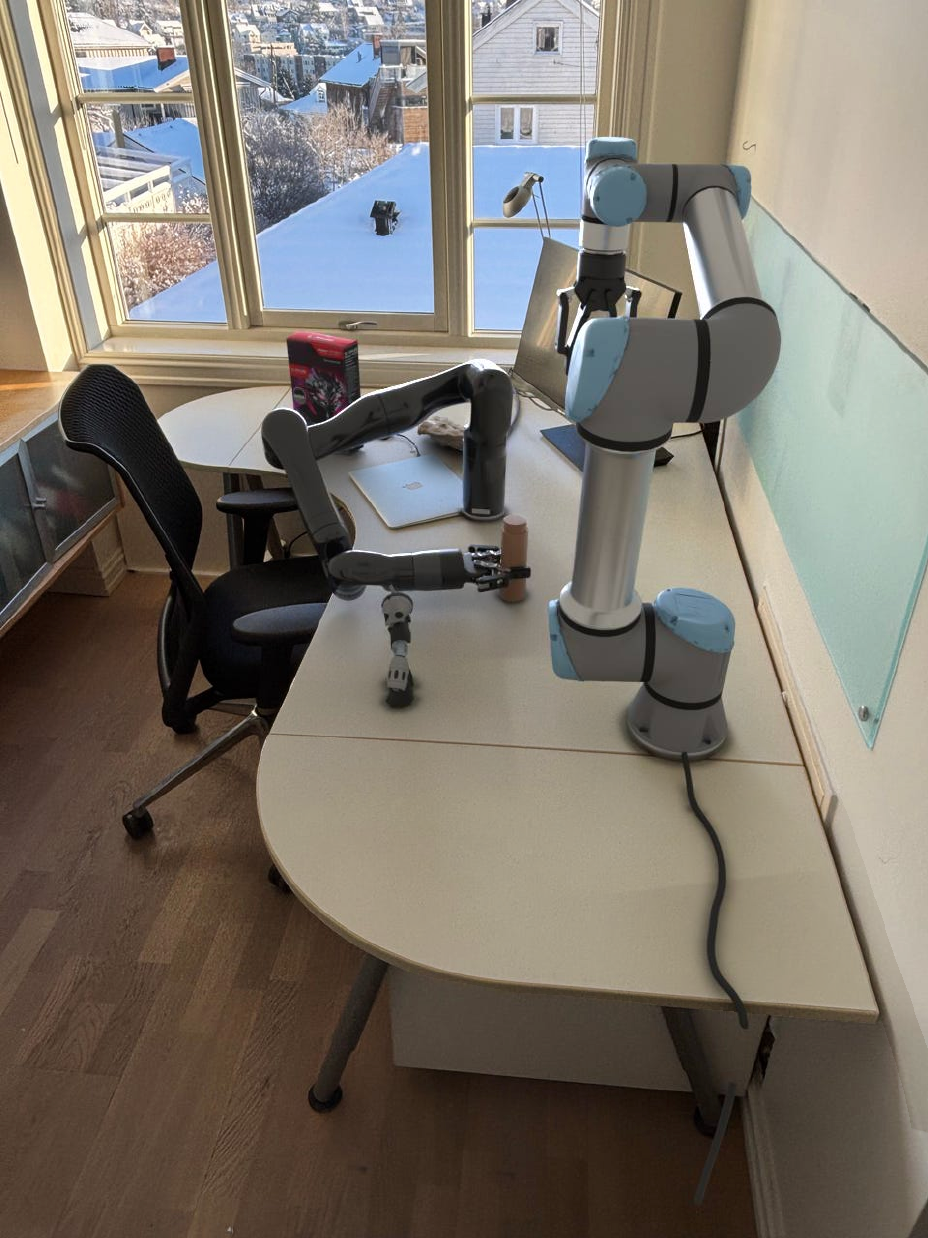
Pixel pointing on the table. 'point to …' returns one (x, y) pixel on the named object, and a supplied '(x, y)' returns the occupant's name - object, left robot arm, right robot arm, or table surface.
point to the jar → (514, 554)
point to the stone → (442, 431)
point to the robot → (398, 647)
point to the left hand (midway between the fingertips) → (526, 564)
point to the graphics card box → (323, 376)
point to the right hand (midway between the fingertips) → (590, 392)
